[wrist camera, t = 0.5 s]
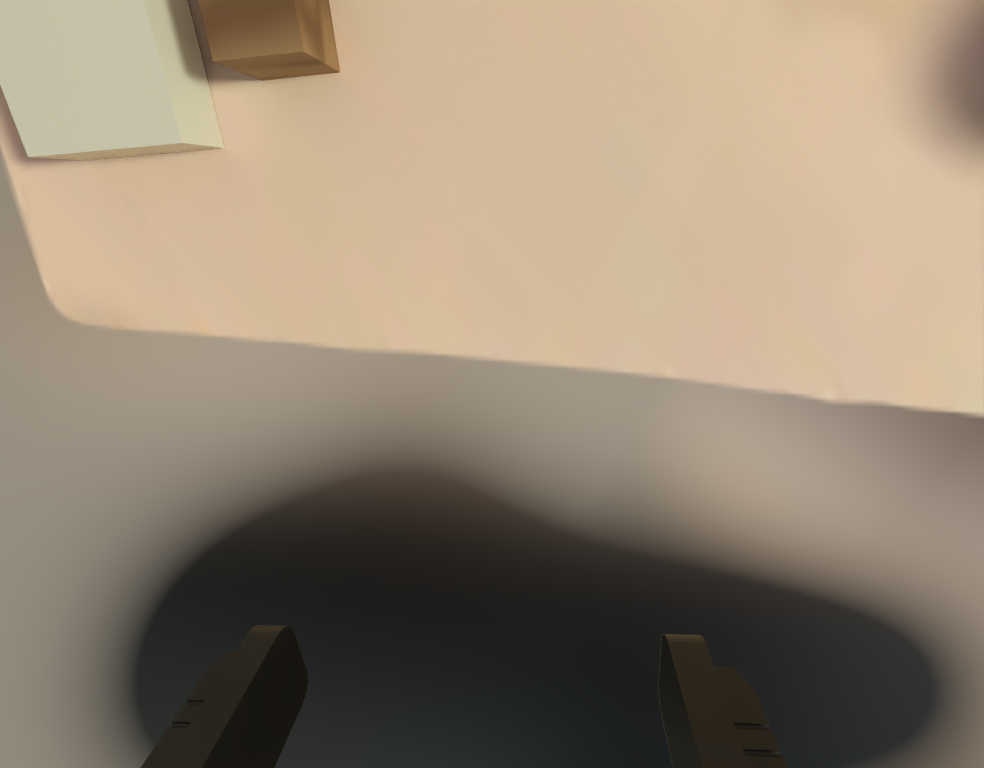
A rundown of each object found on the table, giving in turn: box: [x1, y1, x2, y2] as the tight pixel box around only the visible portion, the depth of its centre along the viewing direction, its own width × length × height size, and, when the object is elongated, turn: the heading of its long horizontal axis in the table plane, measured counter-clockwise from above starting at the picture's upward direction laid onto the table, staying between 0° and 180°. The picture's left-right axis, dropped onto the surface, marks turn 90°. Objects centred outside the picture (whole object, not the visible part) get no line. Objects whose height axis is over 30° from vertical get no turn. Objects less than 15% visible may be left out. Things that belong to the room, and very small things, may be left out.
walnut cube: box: [198, 0, 340, 80], centre depth 27 cm, size 5×5×5 cm
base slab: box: [0, 0, 224, 160], centre depth 28 cm, size 10×10×4 cm
